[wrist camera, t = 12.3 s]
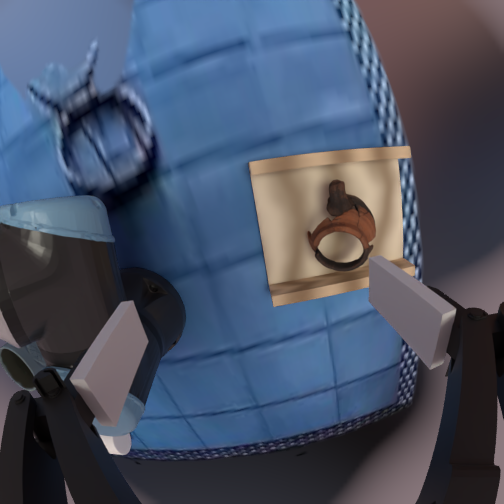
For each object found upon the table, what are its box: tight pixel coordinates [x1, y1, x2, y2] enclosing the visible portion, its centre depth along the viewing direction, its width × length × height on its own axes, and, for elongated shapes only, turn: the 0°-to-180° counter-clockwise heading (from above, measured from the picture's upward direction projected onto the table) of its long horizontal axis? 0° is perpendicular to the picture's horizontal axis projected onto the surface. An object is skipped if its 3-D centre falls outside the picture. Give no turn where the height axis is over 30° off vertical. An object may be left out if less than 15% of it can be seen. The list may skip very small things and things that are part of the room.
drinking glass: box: [0, 342, 46, 391], centre depth 38 cm, size 10×10×12 cm
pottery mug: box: [307, 179, 376, 272], centre depth 36 cm, size 12×10×8 cm
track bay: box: [248, 146, 415, 307], centre depth 37 cm, size 22×19×5 cm
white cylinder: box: [100, 434, 131, 455], centre depth 48 cm, size 12×10×8 cm
